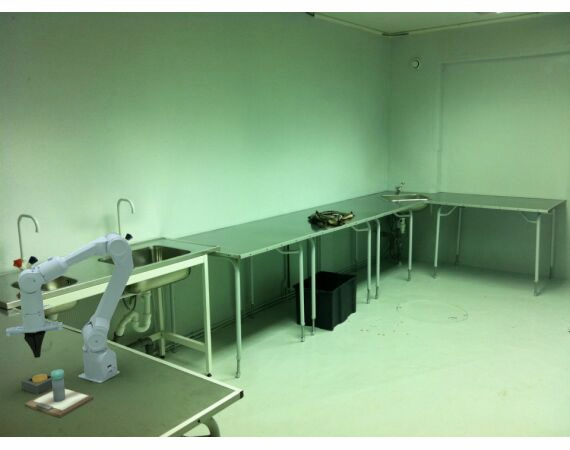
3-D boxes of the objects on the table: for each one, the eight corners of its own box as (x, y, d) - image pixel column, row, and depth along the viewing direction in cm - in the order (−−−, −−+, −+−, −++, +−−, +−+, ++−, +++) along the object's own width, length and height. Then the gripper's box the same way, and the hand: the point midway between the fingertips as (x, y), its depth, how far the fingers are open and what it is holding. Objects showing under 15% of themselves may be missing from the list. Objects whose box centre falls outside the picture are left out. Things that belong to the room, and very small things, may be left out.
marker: (67, 396, 144) (65, 369, 143) (62, 402, 141) (60, 374, 140) (56, 396, 144) (54, 369, 143) (51, 402, 141) (48, 374, 140)
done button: (51, 382, 153) (50, 375, 153) (39, 388, 150) (38, 381, 149) (41, 379, 155) (41, 372, 155) (29, 385, 152) (29, 378, 151)
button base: (59, 383, 154) (58, 375, 153) (38, 394, 148) (37, 386, 147) (43, 379, 157) (42, 371, 157) (22, 389, 151) (21, 381, 151)
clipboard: (93, 398, 144) (93, 394, 144) (60, 417, 135) (59, 413, 135) (59, 388, 151) (58, 384, 151) (24, 405, 141) (24, 401, 141)
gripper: (61, 304, 155) (65, 347, 157) (7, 310, 150) (12, 354, 153) (59, 311, 148) (63, 356, 150) (2, 317, 144) (7, 364, 146)
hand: (37, 356), depth 151 cm, fingers closed
